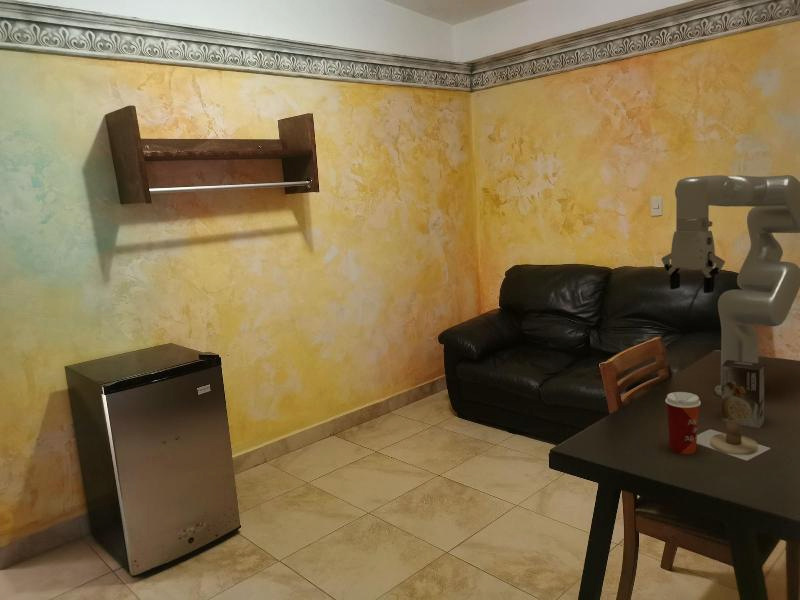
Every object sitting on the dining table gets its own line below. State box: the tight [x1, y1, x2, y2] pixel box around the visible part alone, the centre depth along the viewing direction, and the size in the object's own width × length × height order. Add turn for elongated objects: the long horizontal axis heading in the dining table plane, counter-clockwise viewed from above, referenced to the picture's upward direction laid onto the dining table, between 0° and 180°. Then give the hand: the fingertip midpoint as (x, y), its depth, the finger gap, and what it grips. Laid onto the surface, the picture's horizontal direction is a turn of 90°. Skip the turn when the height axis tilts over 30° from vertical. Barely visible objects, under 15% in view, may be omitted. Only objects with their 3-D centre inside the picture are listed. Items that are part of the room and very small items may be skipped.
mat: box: [696, 429, 772, 462], centre depth 142 cm, size 10×15×1 cm, turn 30°
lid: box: [710, 420, 759, 455], centre depth 140 cm, size 10×10×6 cm
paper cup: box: [664, 391, 702, 455], centre depth 140 cm, size 8×8×14 cm
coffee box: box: [720, 360, 766, 429], centre depth 153 cm, size 9×6×16 cm
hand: (691, 290), depth 154 cm, fingers open, 9 cm apart
